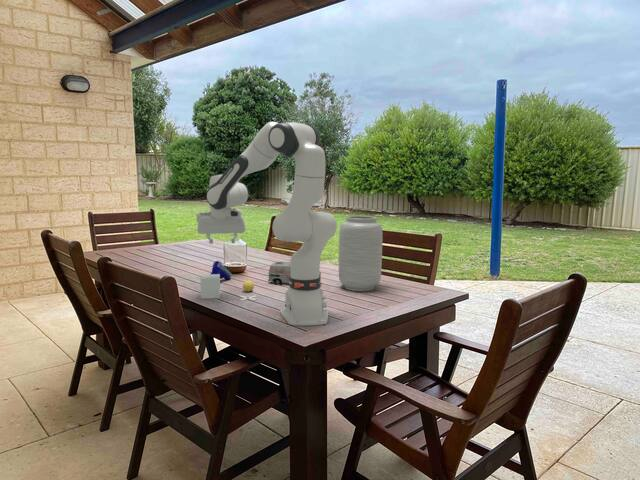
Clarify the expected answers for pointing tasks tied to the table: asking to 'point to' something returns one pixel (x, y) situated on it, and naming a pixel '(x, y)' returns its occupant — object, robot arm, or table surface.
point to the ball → (248, 285)
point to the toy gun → (221, 270)
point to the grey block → (210, 286)
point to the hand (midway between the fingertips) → (222, 243)
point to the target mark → (247, 298)
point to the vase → (360, 253)
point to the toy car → (280, 272)
